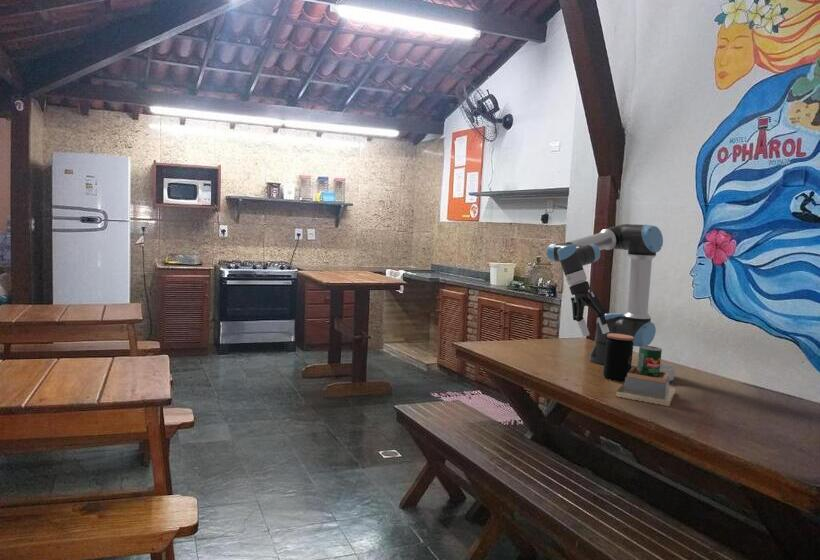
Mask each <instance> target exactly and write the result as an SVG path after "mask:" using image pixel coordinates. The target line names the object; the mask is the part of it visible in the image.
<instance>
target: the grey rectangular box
mask: <svg viewBox="0 0 820 560" xmlns="http://www.w3.org/2000/svg"><path fill="white" fill-rule="evenodd" d="M670 382H671V381H670V377H669V373H668V372H661V371H659V377H653V376H646V375H640V374H637V368H636V367H632V368H631V369H630V371H629V372H628V373H627V376H626V377H625V381H623V383H622V384H621V386H620V387H619V388H618V389H617V390H616V394H615V397H616V396H618V397H617V398H620V397H622V398H621V399H626V398H627V399H628V400H631V399H632V400H633V401H636V400H638V401H639V402H642V401H644V402H643V403H647V402H649V403H648V404H653V403H654V404H655V405H658V404H660V406H663V407H670V405H671V403H672V400H673V398H674V396H675V394H676V388H675V387H671V386H670ZM627 399H626V400H627ZM638 401H637V402H638ZM654 404H653V405H654Z"/></svg>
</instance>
